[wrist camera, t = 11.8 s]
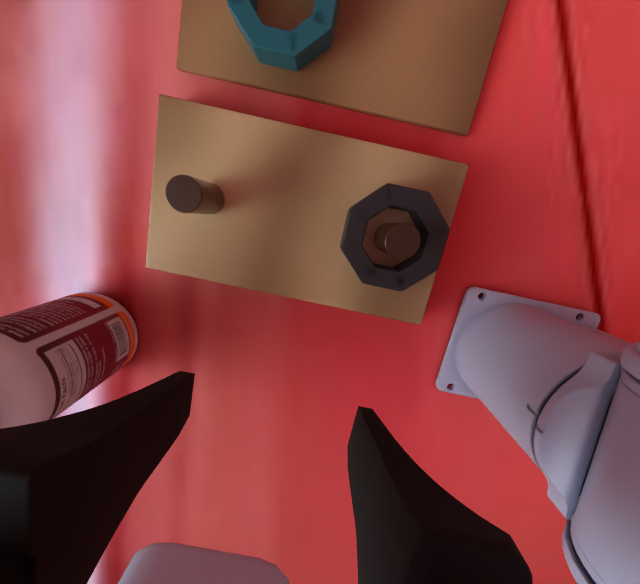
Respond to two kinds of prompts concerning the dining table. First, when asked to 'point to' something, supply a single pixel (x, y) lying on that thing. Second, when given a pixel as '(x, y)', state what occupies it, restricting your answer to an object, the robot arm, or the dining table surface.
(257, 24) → the teal ring
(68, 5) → the dining table surface
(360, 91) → the cork mat
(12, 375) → the pill bottle
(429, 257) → the charcoal ring
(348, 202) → the peg board
